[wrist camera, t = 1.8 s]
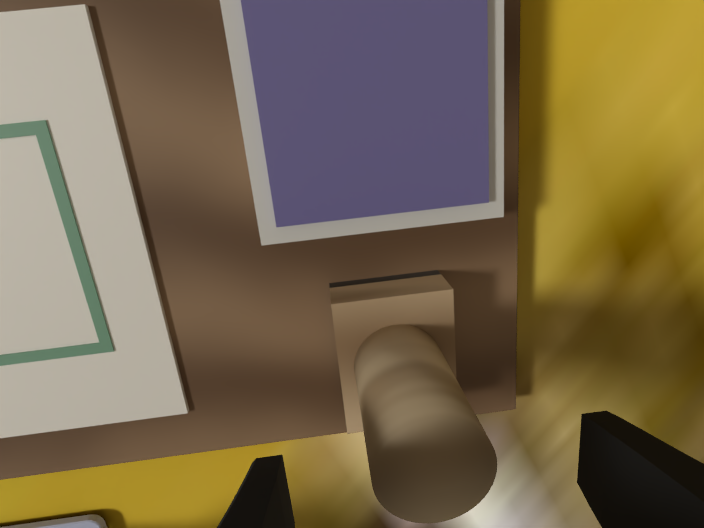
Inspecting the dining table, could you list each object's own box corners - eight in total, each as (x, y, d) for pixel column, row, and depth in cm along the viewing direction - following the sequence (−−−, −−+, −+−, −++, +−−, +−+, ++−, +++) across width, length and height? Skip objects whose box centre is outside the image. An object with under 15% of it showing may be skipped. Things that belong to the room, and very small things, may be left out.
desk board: (506, 395, 20) (515, 409, 19) (-138, 482, 19) (-163, 501, 18) (507, -99, 14) (521, -114, 13) (-410, -17, 13) (-468, -28, 12)
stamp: (443, 387, 18) (516, 541, 12) (343, 400, 18) (360, 564, 11) (437, 269, 17) (519, 369, 10) (329, 283, 16) (338, 393, 10)
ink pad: (490, 209, 16) (507, 218, 15) (265, 236, 16) (260, 248, 14) (488, -91, 13) (508, -116, 12) (215, -67, 13) (202, -90, 12)
